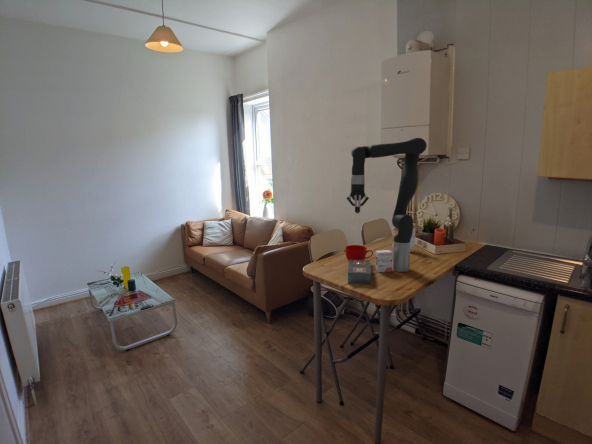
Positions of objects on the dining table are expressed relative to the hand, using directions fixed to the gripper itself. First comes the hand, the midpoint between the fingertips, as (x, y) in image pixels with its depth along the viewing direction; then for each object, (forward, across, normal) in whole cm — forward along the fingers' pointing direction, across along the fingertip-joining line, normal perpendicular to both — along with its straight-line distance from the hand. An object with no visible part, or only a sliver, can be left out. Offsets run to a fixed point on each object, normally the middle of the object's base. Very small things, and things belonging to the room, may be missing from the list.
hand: (357, 213), depth 189 cm
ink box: (+34, -15, +2) cm, 37 cm away
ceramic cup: (+34, -2, -9) cm, 35 cm away
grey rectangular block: (+34, -1, +19) cm, 38 cm away
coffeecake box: (+34, -33, -43) cm, 64 cm away
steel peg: (+34, -1, +7) cm, 34 cm away
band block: (+34, -1, +13) cm, 36 cm away
